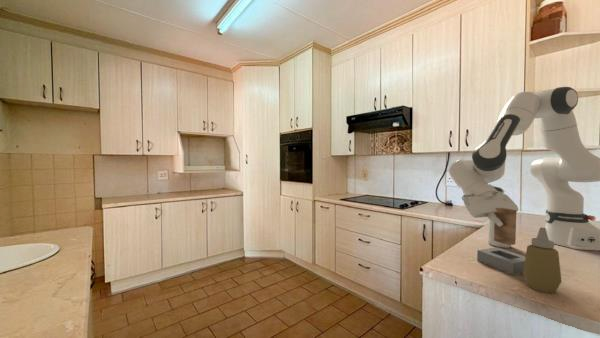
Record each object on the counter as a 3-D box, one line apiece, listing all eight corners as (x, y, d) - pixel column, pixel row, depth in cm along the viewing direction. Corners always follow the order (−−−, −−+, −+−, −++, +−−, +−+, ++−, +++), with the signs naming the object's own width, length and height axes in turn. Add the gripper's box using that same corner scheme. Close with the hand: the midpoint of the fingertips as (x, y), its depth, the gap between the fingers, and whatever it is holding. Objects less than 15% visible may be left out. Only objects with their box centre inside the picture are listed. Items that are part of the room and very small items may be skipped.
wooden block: (493, 240, 88) (494, 208, 87) (499, 239, 89) (500, 207, 88) (509, 245, 83) (510, 210, 83) (515, 244, 84) (516, 210, 83)
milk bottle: (511, 249, 101) (512, 202, 101) (488, 245, 106) (489, 200, 105) (510, 244, 108) (511, 200, 107) (488, 241, 112) (489, 198, 111)
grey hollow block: (477, 260, 91) (477, 250, 90) (496, 257, 93) (497, 247, 93) (513, 275, 79) (513, 263, 79) (534, 271, 82) (534, 259, 82)
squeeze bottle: (566, 299, 65) (568, 233, 65) (526, 290, 70) (528, 229, 69) (555, 286, 72) (557, 226, 71) (519, 279, 76) (520, 223, 76)
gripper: (465, 189, 89) (491, 222, 80) (505, 188, 95) (534, 218, 86) (454, 199, 93) (478, 232, 84) (493, 197, 99) (519, 227, 90)
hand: (506, 225), depth 85 cm, fingers closed on wooden block, 3 cm apart
